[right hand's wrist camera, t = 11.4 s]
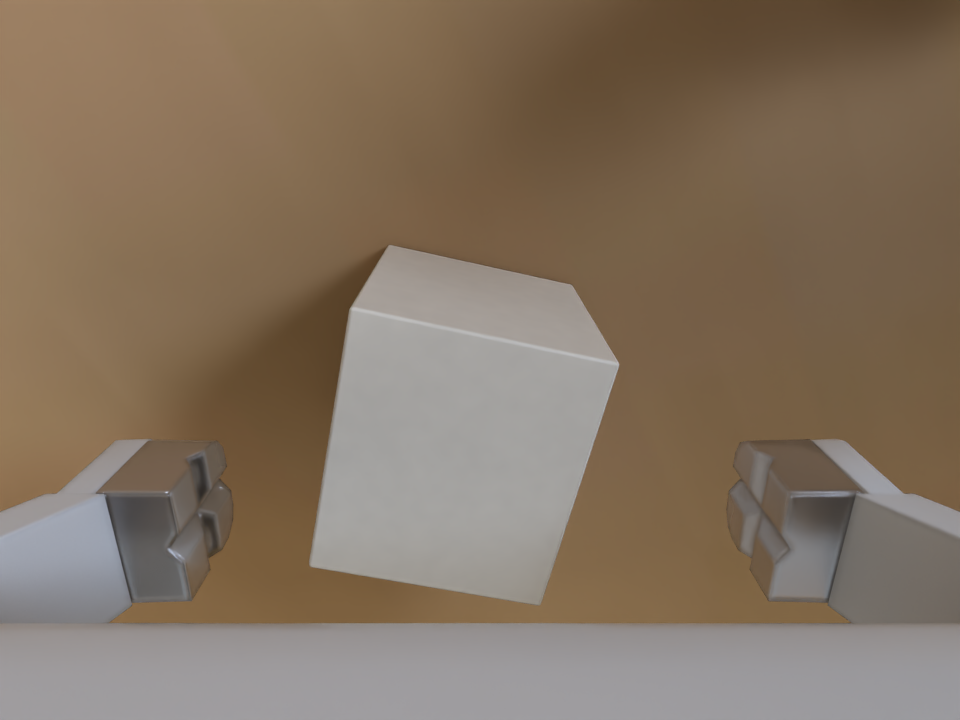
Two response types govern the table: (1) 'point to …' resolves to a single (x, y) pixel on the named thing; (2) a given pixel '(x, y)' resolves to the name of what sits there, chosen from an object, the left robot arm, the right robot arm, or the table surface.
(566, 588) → the table surface
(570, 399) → the block
